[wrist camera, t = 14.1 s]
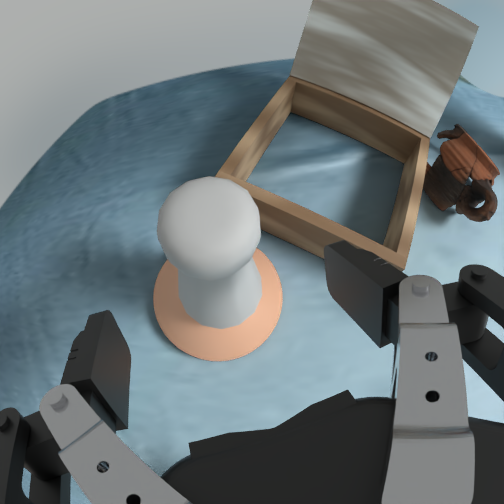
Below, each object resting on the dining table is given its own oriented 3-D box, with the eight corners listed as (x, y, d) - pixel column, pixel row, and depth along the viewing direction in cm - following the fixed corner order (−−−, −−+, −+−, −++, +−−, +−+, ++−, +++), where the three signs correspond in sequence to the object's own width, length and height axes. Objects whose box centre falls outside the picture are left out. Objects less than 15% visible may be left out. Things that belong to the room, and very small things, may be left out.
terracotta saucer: (194, 222, 27) (193, 216, 26) (300, 272, 26) (302, 268, 25) (134, 322, 24) (130, 320, 23) (246, 383, 22) (246, 384, 22)
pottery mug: (395, 154, 32) (440, 104, 27) (436, 182, 37) (475, 142, 31) (445, 234, 25) (506, 177, 20) (479, 254, 29) (528, 210, 24)
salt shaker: (172, 279, 24) (116, 186, 12) (237, 248, 25) (238, 135, 13) (205, 346, 22) (166, 313, 10) (273, 312, 24) (310, 242, 12)
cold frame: (304, 78, 36) (327, -40, 20) (418, 130, 34) (477, 24, 18) (215, 208, 28) (199, 29, 12) (380, 286, 26) (519, 172, 10)
